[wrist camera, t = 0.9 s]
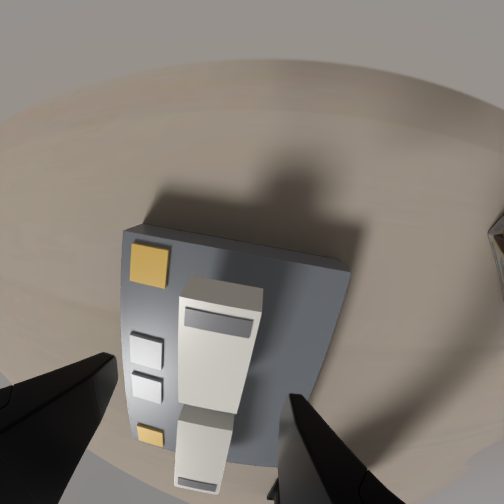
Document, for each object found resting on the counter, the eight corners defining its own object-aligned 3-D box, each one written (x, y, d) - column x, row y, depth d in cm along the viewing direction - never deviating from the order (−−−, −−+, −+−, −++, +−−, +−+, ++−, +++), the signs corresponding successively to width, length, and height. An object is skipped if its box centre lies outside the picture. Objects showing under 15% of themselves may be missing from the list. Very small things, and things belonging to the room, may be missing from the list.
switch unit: (276, 445, 24) (277, 475, 20) (141, 419, 24) (129, 445, 20) (339, 259, 19) (356, 277, 15) (142, 223, 19) (115, 233, 15)
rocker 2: (220, 478, 18) (218, 495, 16) (178, 470, 18) (173, 486, 16) (234, 414, 18) (232, 431, 15) (184, 404, 18) (177, 420, 15)
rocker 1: (239, 390, 17) (236, 415, 15) (185, 379, 17) (178, 403, 15) (263, 288, 14) (261, 313, 12) (190, 274, 14) (178, 297, 12)
